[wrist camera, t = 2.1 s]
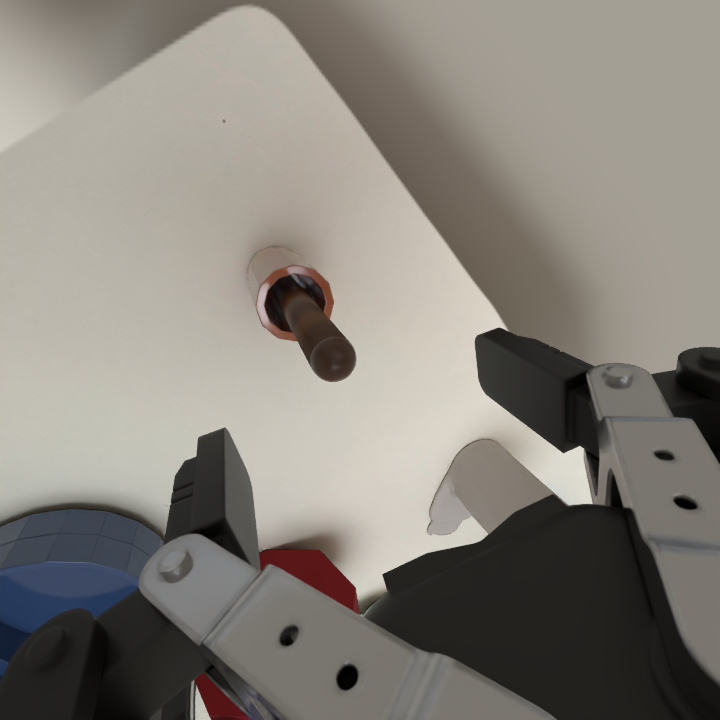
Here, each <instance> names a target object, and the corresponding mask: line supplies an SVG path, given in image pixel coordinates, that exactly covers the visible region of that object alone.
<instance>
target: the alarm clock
mask: <svg viewBox="0 0 720 720" xmlns="http://www.w3.org/2000/svg"><path fill="white" fill-rule="evenodd" d="M259 558H260V568H261V571H262V569H263V568H264V567H265V566H266V565H267V564H271V565H274V566H277V567H279V568H280V569H282V570H284V571H286V572H287V573H289V574H291V575H292V576H294V577H296V578H298V579H299V580H301V581H303V582H304V583H306V584H308V585H310V586H311V587H313V588H315V589H316V590H318V591H320V592H321V593H323V594H325V595H327V596H328V597H330V598H332V599H333V600H335V601H337V602H339V603H340V604H342V605H344V606H345V607H347V608H349V609H351V610H352V611H354V612H356V613H357V614H359V615H360V613H359V606H358V600H357V594H356V588H355V587H354V585H353V584H352V583H351V582H350V581H349V580H348V579H347V578H346V577H345V576H344V575H343V574H342V573H341V572H340V571H339V570H338V569H337V568H336V567H335V566H334V565H333V564H332V562H331V561H330V560H329V559H328V558H327V557H326V556H325V555H324V554H323V553H322V552H321V551H320V550H265V551H263V552H262V553H260V554H259ZM195 683H196V685H197V687H198V690H199V692H200V695H201V697H202V699H203V702H204V704H205V707H206V709H207V711H208V714H209V716H210V718H211V720H251V719H250V718H249V717H248V716H247V715H246V714H245V713H244V712H243V711H242V710H241V709H240V708H239V707H238V706H237V705H236V704H235V703H234V702H232V701H231V700H230V699H229V698H228V697H227V696H226V695H225V694H224V693H223V692H222V691H221V690H220V689H219V688H218V687H217V686H216V685H215V684H214V683H213V682H212V681H211V680H210V679H209V678H208V677H207V676H206V675H205V674H204V673H202V674H201V675H199V676H198V677H197V678H196V679H195Z"/></svg>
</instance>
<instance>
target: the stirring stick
mask: <svg viewBox="0 0 720 720" xmlns="http://www.w3.org/2000/svg"><path fill="white" fill-rule="evenodd" d="M270 290H271V292H272V294H273V296H274V297H275V299H276V301H277V303H278V305H279V307H280V309H281V311H282V313H283V315H284V316H285V318H286V320H287V322H288V324H289V326H290V328H291V330H292V332H293V334H294V335H295V337H296V339H297V341H298V343H299V345H300V347H301V349H302V351H303V353H304V354H305V356H306V358H307V360H308V362H309V364H310V366H311V368H312V370H313V371H314V373H315V374H316V375H317V376H318V377H319V378H321V379H323V380H325V381H328V382H337V381H341V380H343V379H345V378H347V377H348V376H349V375H350V374H351V373H352V371H353V370H354V368H355V365H356V353H355V350H354V348H353V346H352V345H351V343H350V342H349V341H348V340H347V339H346V338H345V336H344V335H343V334H342V333H341V332H340V331H339V330H338V328H337V327H336V326H335V325H334V324H333V323H332V322H331V320H330V319H329V318H328V317H327V316H326V315H325V313H324V312H323V311H322V310H321V309H320V308H319V307H318V305H317V304H316V303H315V302H314V301H313V300H312V299H311V297H310V296H309V295H308V294H307V293H306V292H305V291H304V289H303V288H302V287H301V286H300V285H299V284H298V282H297V281H296V280H295V279H294V278H293V277H292V276H291V275H288V276H285V277H282V278H279V279H278V280H277V281H276V282H275V283H274V284H273V285H272V287H271V288H270Z"/></svg>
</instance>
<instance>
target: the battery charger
mask: <svg viewBox="0 0 720 720" xmlns="http://www.w3.org/2000/svg"><path fill="white" fill-rule="evenodd" d="M195 692H196V683H195V680H193V681H192V682H191V683H190V684H189V685H188V686H186V687H185V688H184V689H183V690H182V691H181V692H179V693H178V694H177V695H176V696H175V697H174V698H172V699H171V700H170V701H169V702H168V703H167V704H165V705H164V706H163V707H162V714H161V720H195Z"/></svg>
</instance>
